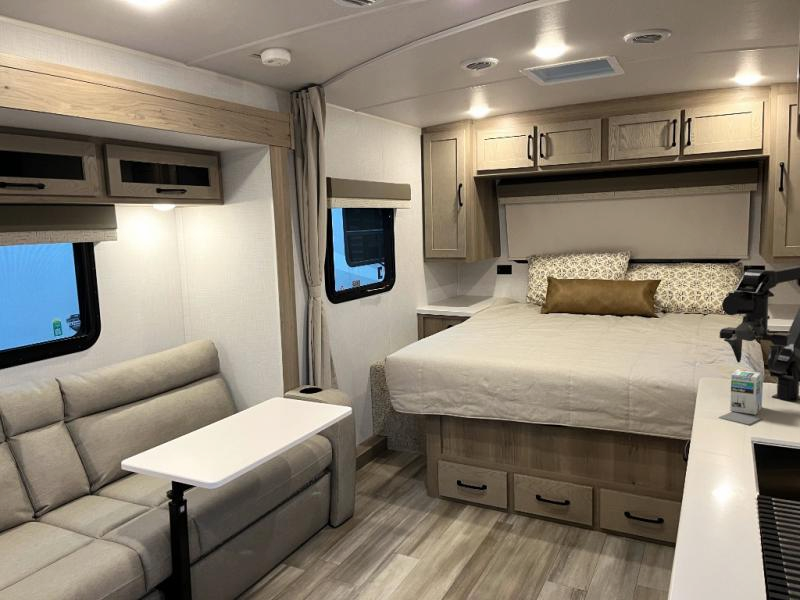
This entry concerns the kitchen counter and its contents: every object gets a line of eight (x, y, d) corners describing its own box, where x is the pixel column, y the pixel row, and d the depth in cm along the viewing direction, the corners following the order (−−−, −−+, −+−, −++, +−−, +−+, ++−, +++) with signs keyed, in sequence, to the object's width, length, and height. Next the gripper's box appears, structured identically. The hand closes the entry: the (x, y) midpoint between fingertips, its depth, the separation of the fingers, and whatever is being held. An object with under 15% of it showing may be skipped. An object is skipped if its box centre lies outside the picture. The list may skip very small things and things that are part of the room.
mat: (732, 412, 173) (732, 411, 173) (762, 419, 167) (762, 417, 167) (718, 418, 168) (718, 417, 168) (748, 425, 162) (748, 423, 162)
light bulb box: (756, 415, 169) (757, 377, 168) (729, 411, 173) (730, 374, 172) (762, 407, 177) (764, 371, 176) (736, 404, 181) (737, 368, 180)
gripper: (710, 312, 180) (709, 364, 182) (779, 318, 165) (777, 374, 167) (729, 308, 187) (727, 358, 189) (796, 314, 172) (794, 368, 173)
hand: (755, 364), depth 179 cm, fingers open, 9 cm apart
